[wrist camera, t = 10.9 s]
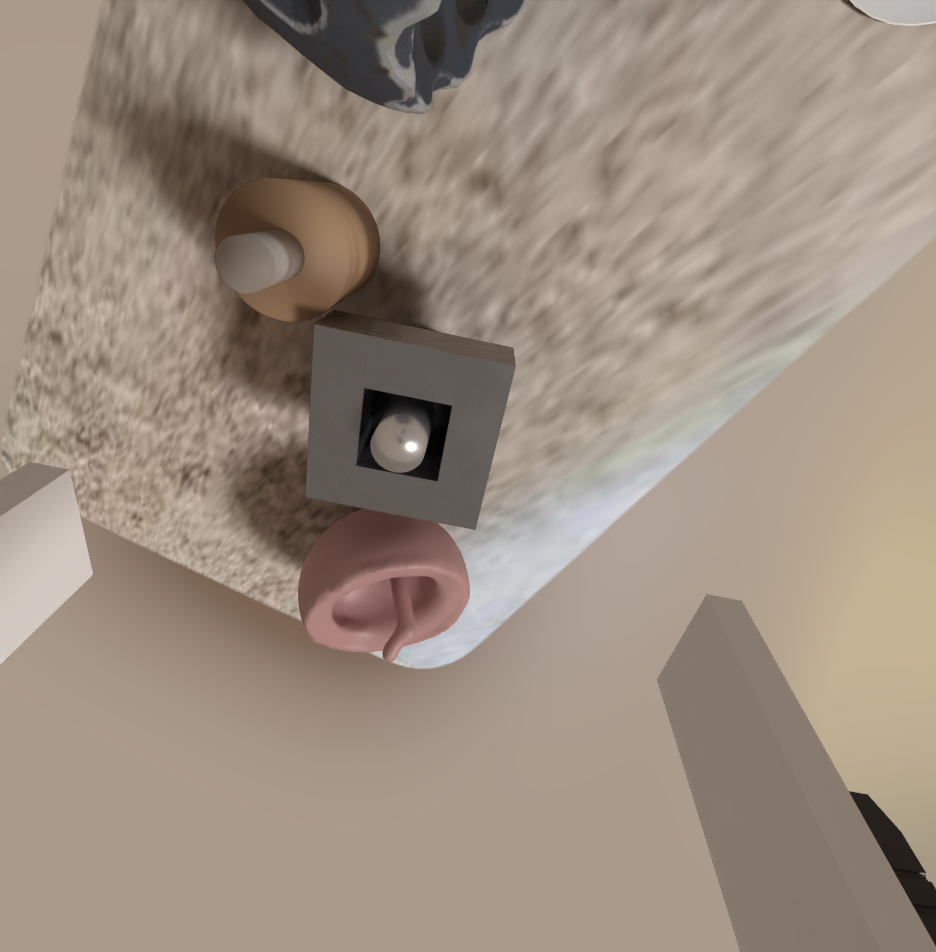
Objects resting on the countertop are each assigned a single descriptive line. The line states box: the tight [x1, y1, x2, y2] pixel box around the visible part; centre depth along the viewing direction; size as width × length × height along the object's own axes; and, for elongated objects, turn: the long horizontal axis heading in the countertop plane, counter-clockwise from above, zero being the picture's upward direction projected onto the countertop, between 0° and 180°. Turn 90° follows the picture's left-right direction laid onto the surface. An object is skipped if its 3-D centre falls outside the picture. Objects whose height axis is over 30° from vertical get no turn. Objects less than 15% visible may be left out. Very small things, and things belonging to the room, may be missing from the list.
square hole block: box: [305, 310, 516, 530], centre depth 29 cm, size 10×10×4 cm
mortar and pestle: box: [298, 509, 470, 662], centre depth 38 cm, size 12×12×12 cm
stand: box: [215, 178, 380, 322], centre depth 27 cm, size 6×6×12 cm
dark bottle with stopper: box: [369, 390, 452, 473], centre depth 31 cm, size 7×7×11 cm
